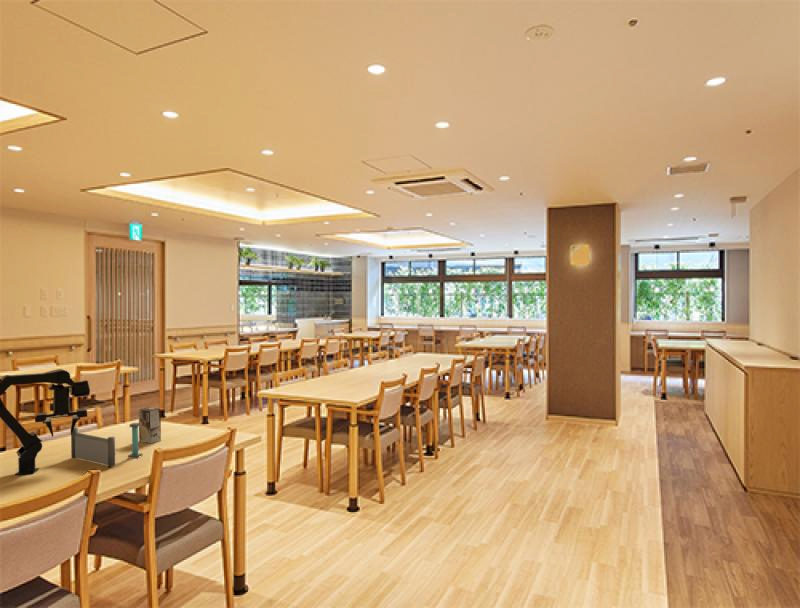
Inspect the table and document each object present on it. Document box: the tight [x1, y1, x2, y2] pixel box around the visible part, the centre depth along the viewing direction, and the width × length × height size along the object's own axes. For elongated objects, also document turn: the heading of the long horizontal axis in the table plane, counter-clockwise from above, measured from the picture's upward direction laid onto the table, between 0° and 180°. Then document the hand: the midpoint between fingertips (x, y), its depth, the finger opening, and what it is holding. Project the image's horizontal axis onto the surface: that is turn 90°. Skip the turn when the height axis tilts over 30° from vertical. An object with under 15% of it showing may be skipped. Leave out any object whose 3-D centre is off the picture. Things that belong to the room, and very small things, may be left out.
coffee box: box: [138, 406, 162, 444], centre depth 266 cm, size 9×6×16 cm
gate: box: [70, 426, 116, 467], centre depth 232 cm, size 29×3×13 cm, turn 62°
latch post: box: [127, 422, 143, 458], centre depth 240 cm, size 5×3×15 cm, turn 87°
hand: (62, 435), depth 228 cm, fingers open, 6 cm apart
